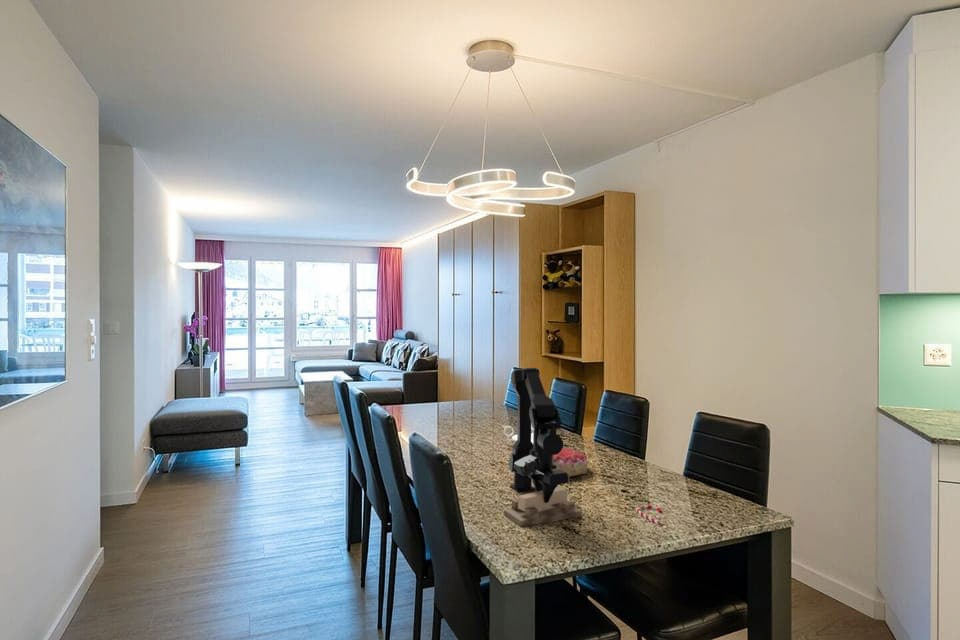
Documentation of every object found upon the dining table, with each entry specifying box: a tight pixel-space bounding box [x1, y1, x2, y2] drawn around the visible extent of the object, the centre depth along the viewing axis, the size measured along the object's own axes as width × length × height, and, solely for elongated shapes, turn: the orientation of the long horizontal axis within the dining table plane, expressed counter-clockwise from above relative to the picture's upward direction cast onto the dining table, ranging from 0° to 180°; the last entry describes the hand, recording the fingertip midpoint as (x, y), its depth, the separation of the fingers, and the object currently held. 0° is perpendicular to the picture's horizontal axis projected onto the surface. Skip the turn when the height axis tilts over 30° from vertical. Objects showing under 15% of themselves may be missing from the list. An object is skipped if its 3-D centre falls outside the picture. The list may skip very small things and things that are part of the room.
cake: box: [552, 447, 589, 478], centre depth 215 cm, size 25×25×8 cm
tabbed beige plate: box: [503, 498, 583, 527], centre depth 166 cm, size 20×10×4 cm, turn 114°
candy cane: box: [635, 504, 663, 527], centre depth 166 cm, size 8×1×15 cm
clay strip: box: [517, 486, 568, 511], centre depth 166 cm, size 16×3×4 cm, turn 125°
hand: (542, 500), depth 166 cm, fingers closed on clay strip, 3 cm apart
